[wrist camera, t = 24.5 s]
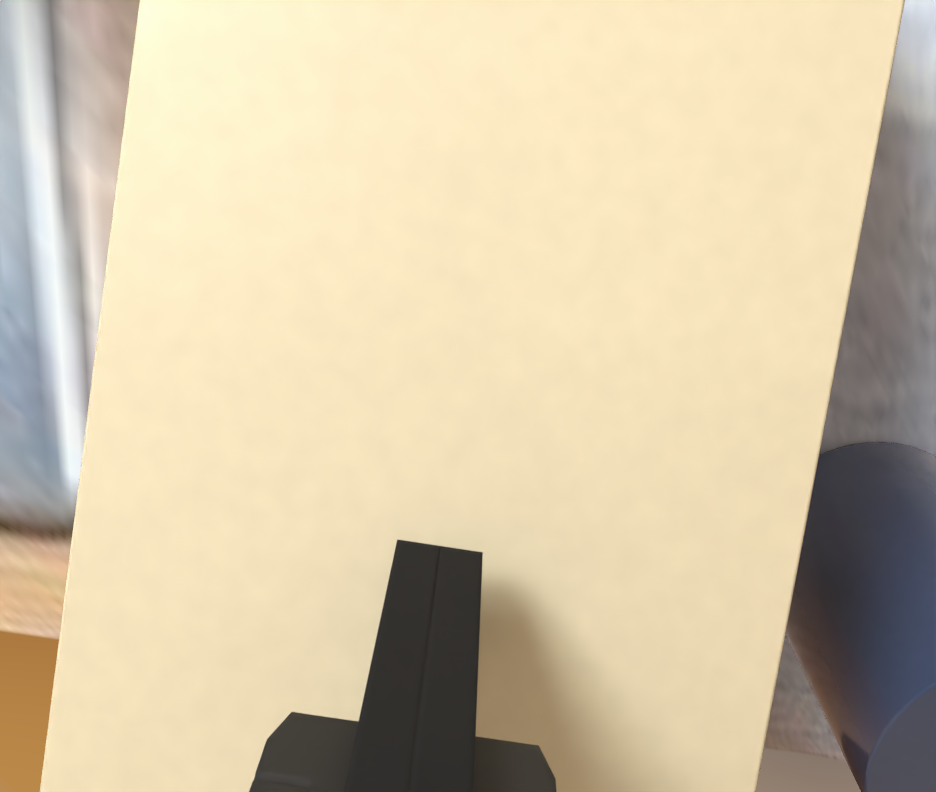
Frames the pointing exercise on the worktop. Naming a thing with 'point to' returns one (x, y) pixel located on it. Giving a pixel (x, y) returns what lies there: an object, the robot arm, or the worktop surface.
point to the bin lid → (464, 370)
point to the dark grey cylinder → (872, 610)
